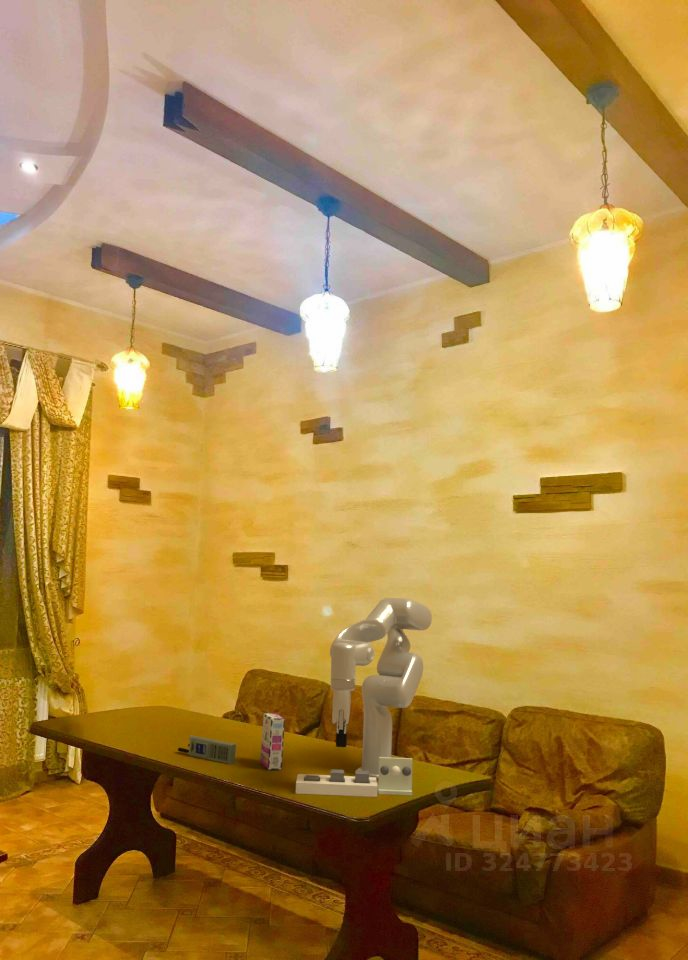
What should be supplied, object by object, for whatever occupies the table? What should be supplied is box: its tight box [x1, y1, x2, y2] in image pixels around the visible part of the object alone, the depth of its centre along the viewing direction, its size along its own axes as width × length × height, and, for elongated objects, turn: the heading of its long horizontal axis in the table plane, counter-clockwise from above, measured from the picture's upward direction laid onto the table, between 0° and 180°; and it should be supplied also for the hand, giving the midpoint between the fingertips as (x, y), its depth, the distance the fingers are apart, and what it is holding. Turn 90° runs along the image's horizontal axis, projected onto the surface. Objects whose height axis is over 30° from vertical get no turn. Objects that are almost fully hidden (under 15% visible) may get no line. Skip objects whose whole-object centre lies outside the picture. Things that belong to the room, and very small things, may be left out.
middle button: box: [330, 768, 345, 782], centre depth 215 cm, size 4×4×3 cm
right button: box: [354, 769, 369, 783], centre depth 215 cm, size 4×4×3 cm
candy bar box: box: [259, 712, 286, 771], centre depth 242 cm, size 11×5×16 cm, turn 21°
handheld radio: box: [177, 735, 237, 765], centre depth 249 cm, size 7×3×25 cm
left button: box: [305, 774, 319, 781], centre depth 215 cm, size 4×4×3 cm
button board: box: [295, 773, 378, 798], centre depth 215 cm, size 24×10×3 cm, turn 90°
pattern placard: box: [377, 756, 413, 796], centre depth 216 cm, size 10×4×10 cm, turn 90°
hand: (341, 746), depth 217 cm, fingers closed
